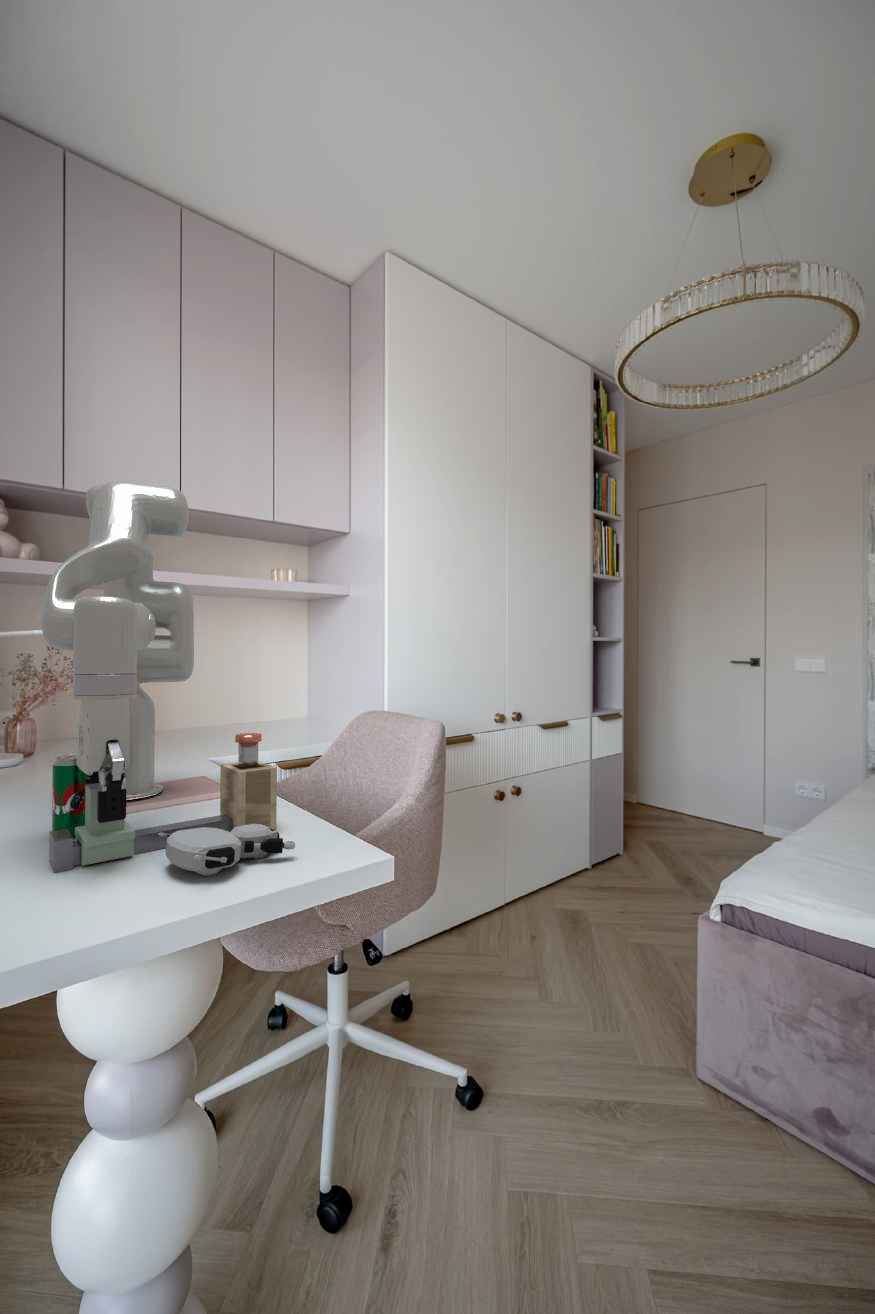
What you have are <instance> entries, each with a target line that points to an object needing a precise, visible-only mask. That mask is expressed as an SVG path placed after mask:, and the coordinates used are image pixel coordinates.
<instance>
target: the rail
mask: <svg viewBox="0 0 875 1314" xmlns="http://www.w3.org/2000/svg"><path fill="white" fill-rule="evenodd" d="M202 827H207V828H217V829H221V830H225V831H228V832H231V831H232V830H233V818H231V817H229V816H228V815H226V814H224V815H220V814H219V815H214V816H208V817H202V818H197V819H192V820H185V821H180V822H174V823H167V824H163V825H162V824H161V825H157V826H152V827H146V828H139V829H134V830H135V838H134V855H139V854H143V853H148V852H153V851H158V850H162V849H166V845H167V838H168V836H160V835H158V834H159V833H165V834H173V833H174V832H176V831H180V830H187V829H195V828H202ZM48 847H49V850H48V851H49V854H48V855H49V856H48V858H49V860H48V861H49V865H50V866H51V869H52V872H53V873H54V874H56V873H60V872H65V871H66V872H67V871H70V870H73V868H74V867H78V866H82V864H81V843H80V842H79V840H76V839H75V840H74V838H73V837H72V836H71V834H70V832H69V831H68V829H63V830H57V831H52V830H51V831H49V846H48Z"/></svg>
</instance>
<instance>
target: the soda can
mask: <svg viewBox="0 0 875 1314" xmlns="http://www.w3.org/2000/svg"><path fill="white" fill-rule="evenodd" d="M51 777H52V778H51V780H52V781H51V782H52V787H51V789H52V792H51V793H52V794H51V799H52V800H51V801H52V802H51V803H52V805H51V809H52V811H51V825H52V826H51V831H57V830H63V829H68V831H69V832H70V834H71V836H72V837H73V839H76V835H75V827H79V826H85V779H91V778H86V774H85V773H84V772H83V771H82V770H81V769H80V768H79V767H78V766H77V753H76V754H66V755H60V756H56V757H55V761H54V763H53V764H52V775H51Z"/></svg>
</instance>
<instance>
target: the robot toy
mask: <svg viewBox="0 0 875 1314" xmlns="http://www.w3.org/2000/svg"><path fill="white" fill-rule="evenodd" d="M158 835H160V836H168V838H167V845H166V848H165V857H166V859H168V861H169V862H170V863H171V864H172V865H173V866H176V867H178V868H181V869H183V870H187V871H190V872H196V873H197V874H198V875H200V876H204V877H205V876H206V877H207V876H208V877H211V876H213V875H216V874H217V873H218V872H220V871H221V870H222V869H226V868H230V867H233V866H235V864H237V862H239V861H240V860H241V859H248V858H249V859H250V858H253V859H255V860H256V859H261V858H262V859H263V858H265V856H266V855H267V854H273V855H274V854H283V849H284V850H288V851H289V850H295V848H296V843H295V842H294V841H292V840H287V841H284V838H283V837H280V833H279V831H278V829H276V830H274V829H272V828H271V827H266V826H264V825H261V824H249V825H243V826H238V827H234V828H233V830H232V831H231V832H228V831H225V830H221V829H217V828H207V827H202V828H195V829H187V830H180V831H176V832H174V833H173V834H165V833H159V834H158Z"/></svg>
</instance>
